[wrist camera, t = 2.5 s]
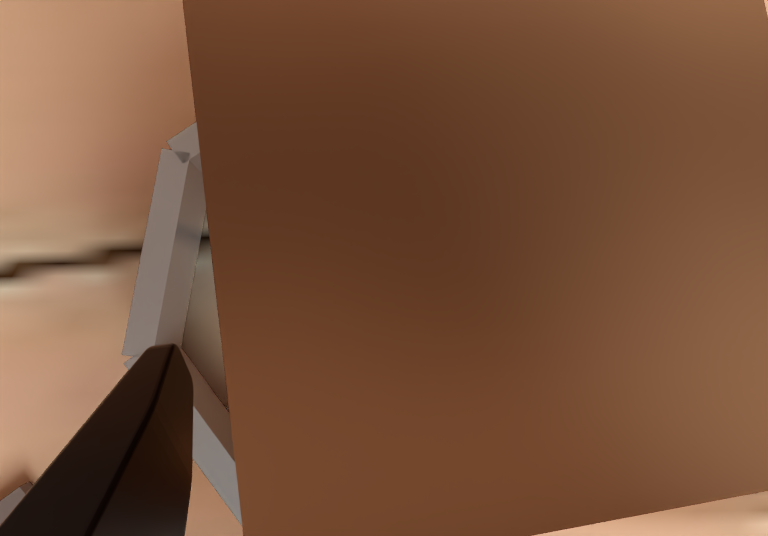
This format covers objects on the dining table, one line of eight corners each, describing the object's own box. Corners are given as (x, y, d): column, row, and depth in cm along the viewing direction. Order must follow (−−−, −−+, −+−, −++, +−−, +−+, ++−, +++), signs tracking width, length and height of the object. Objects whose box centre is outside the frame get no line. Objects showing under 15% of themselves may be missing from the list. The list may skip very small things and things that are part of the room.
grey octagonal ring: (588, 546, 17) (629, 584, 15) (127, 495, 16) (88, 525, 14) (624, 118, 19) (666, 86, 16) (210, 48, 18) (189, 3, 15)
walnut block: (497, 369, 18) (870, 470, 5) (316, 397, 17) (249, 588, 5) (468, 193, 18) (741, -94, 6) (292, 215, 18) (176, -51, 5)
